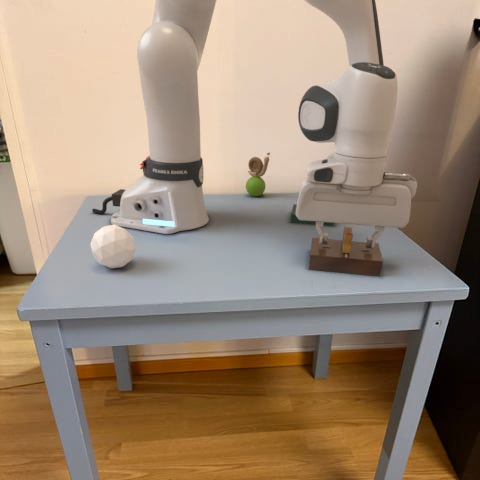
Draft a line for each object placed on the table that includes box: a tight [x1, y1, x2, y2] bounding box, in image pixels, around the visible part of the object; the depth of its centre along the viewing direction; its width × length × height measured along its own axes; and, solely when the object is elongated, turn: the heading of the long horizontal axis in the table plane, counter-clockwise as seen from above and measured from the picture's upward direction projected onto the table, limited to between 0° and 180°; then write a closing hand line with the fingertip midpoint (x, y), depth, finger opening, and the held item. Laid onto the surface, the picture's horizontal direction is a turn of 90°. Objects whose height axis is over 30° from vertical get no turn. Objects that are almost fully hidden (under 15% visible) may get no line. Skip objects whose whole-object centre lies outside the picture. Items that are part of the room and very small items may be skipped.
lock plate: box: [308, 237, 384, 277], centre depth 87 cm, size 13×9×3 cm
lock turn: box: [341, 226, 354, 253], centre depth 85 cm, size 5×1×4 cm, turn 170°
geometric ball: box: [89, 224, 136, 270], centre depth 82 cm, size 8×8×8 cm
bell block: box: [290, 203, 335, 227], centre depth 109 cm, size 10×8×4 cm
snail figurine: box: [245, 151, 271, 197], centre depth 123 cm, size 5×6×12 cm
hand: (346, 245), depth 86 cm, fingers open, 7 cm apart
